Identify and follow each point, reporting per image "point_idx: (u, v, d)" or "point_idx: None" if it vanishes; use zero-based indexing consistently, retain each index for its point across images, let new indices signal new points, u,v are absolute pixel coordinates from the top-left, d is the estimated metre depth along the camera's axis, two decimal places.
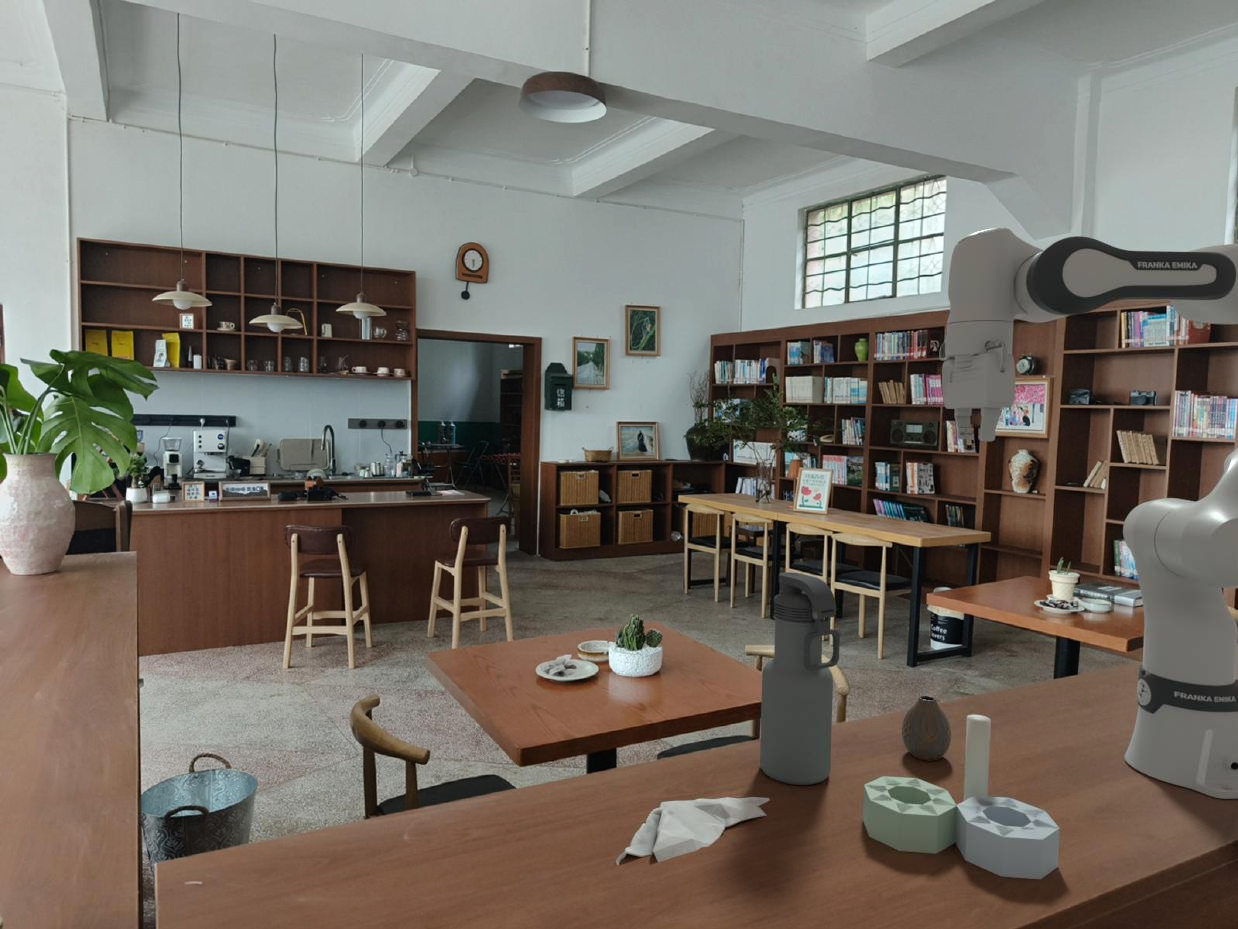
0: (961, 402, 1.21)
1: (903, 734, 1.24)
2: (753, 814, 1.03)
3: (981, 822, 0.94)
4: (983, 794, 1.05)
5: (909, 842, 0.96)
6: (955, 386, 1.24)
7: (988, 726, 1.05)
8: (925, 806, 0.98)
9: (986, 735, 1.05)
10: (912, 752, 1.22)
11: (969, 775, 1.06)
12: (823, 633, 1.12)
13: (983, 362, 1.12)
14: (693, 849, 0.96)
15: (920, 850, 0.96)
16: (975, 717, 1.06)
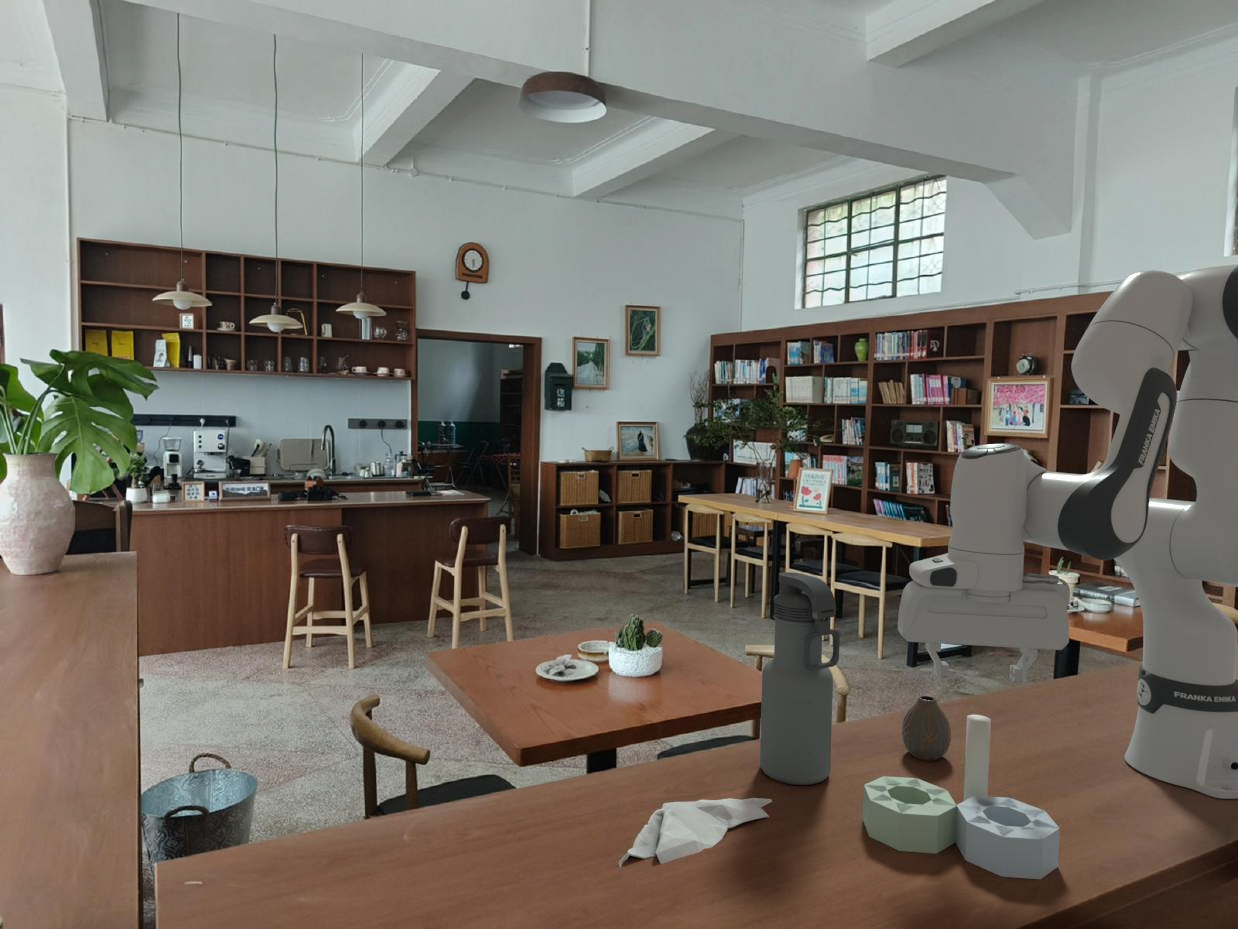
0: (977, 640, 1.04)
1: (903, 734, 1.24)
2: (756, 815, 1.03)
3: (981, 822, 0.94)
4: (983, 794, 1.05)
5: (909, 842, 0.96)
6: (951, 618, 1.04)
7: (988, 726, 1.05)
8: (925, 806, 0.98)
9: (986, 735, 1.05)
10: (912, 752, 1.22)
11: (969, 775, 1.06)
12: (823, 633, 1.12)
13: (1052, 601, 1.02)
14: (696, 851, 0.95)
15: (920, 850, 0.96)
16: (975, 717, 1.06)
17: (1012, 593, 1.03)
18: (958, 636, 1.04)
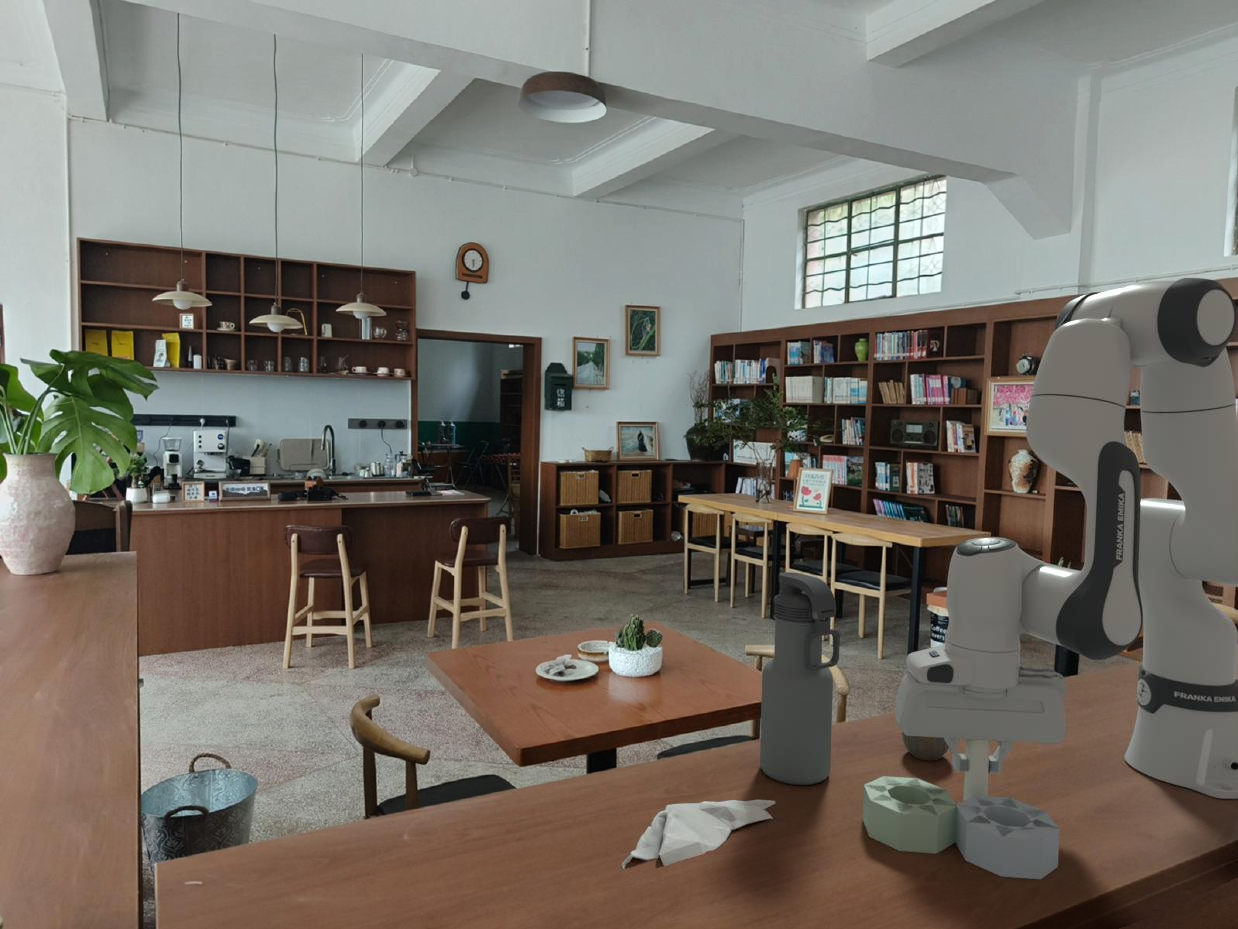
0: (974, 734, 1.04)
1: (903, 734, 1.24)
2: (759, 817, 1.03)
3: (981, 822, 0.94)
4: (983, 794, 1.05)
5: (909, 842, 0.96)
6: (949, 713, 1.05)
7: None
8: (925, 806, 0.98)
9: None
10: (912, 752, 1.22)
11: (969, 775, 1.06)
12: (823, 633, 1.12)
13: (1048, 696, 1.03)
14: (699, 852, 0.95)
15: (920, 850, 0.96)
16: None
17: (1008, 688, 1.04)
18: (955, 730, 1.05)
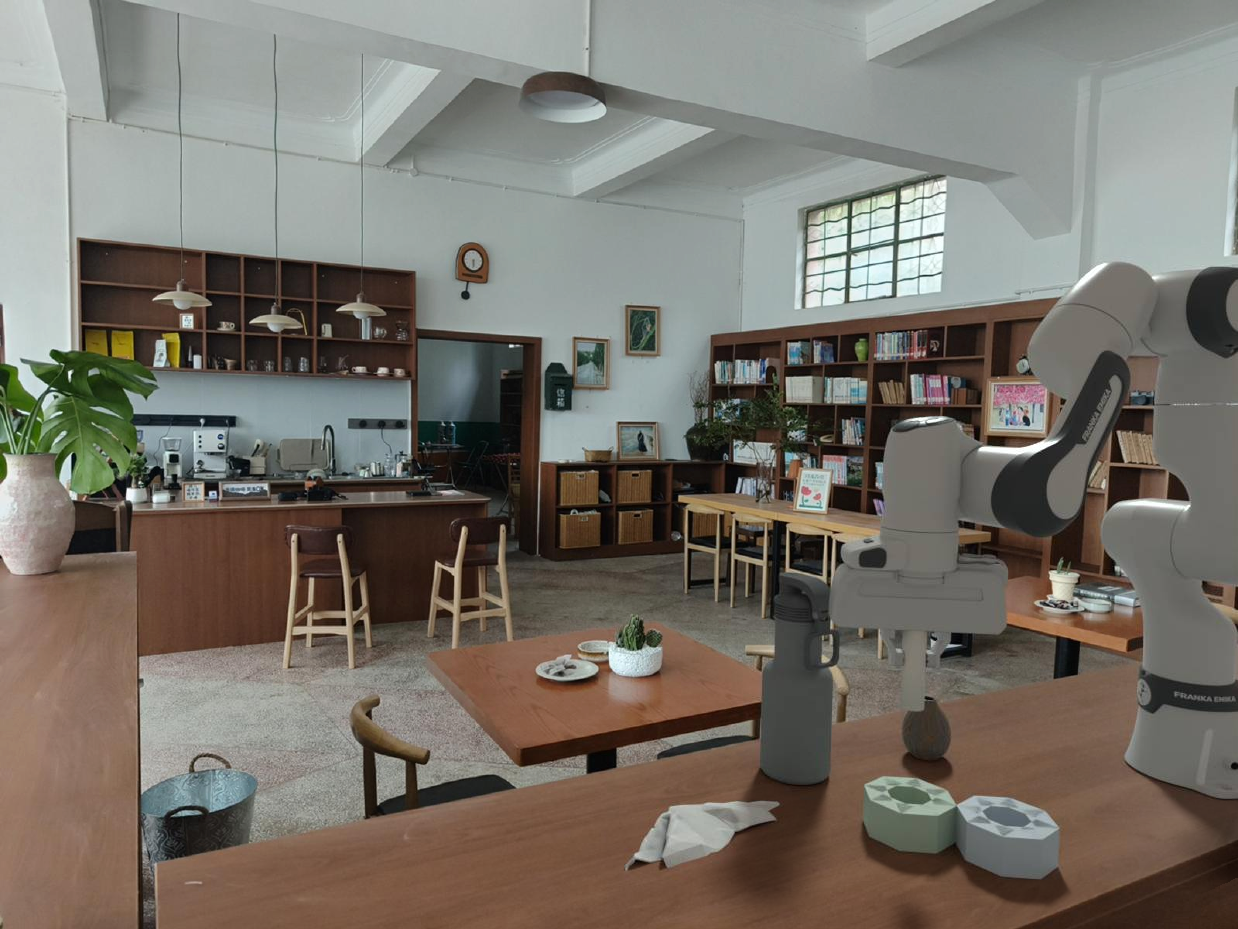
0: (910, 624, 0.98)
1: (903, 734, 1.24)
2: (763, 818, 1.02)
3: (981, 822, 0.94)
4: (919, 689, 0.98)
5: (909, 842, 0.96)
6: (883, 602, 0.98)
7: None
8: (925, 806, 0.98)
9: None
10: (912, 752, 1.22)
11: (905, 669, 0.99)
12: (823, 633, 1.12)
13: (988, 583, 0.96)
14: (703, 855, 0.94)
15: (920, 850, 0.96)
16: None
17: (946, 574, 0.97)
18: (890, 621, 0.98)
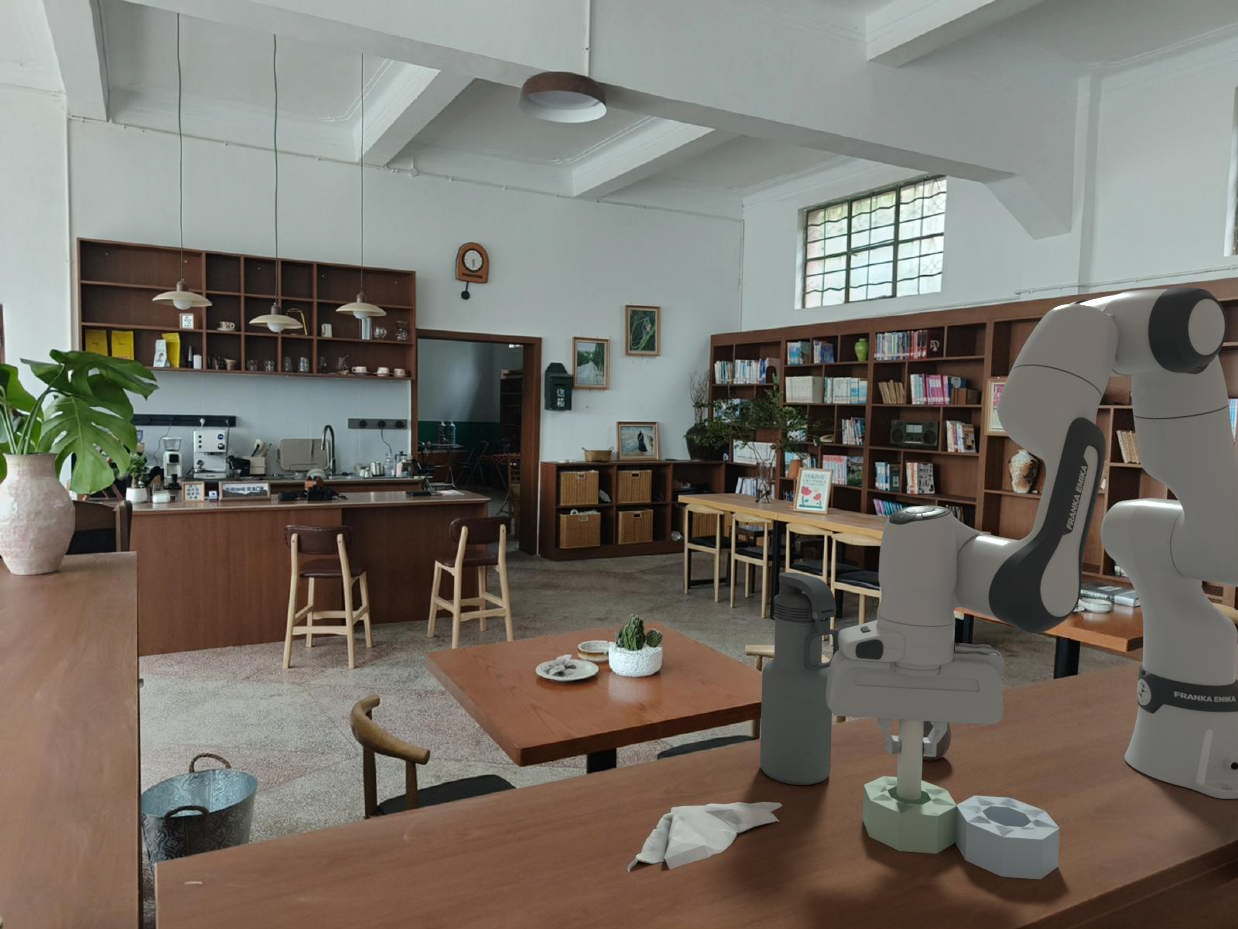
0: (906, 714, 0.98)
1: None
2: (765, 820, 1.02)
3: (981, 822, 0.94)
4: (916, 778, 0.99)
5: (909, 842, 0.96)
6: (879, 691, 0.99)
7: None
8: (925, 806, 0.98)
9: None
10: None
11: (902, 758, 1.00)
12: (823, 633, 1.12)
13: (984, 674, 0.97)
14: (705, 856, 0.94)
15: (920, 850, 0.96)
16: None
17: (942, 665, 0.98)
18: (886, 710, 0.98)
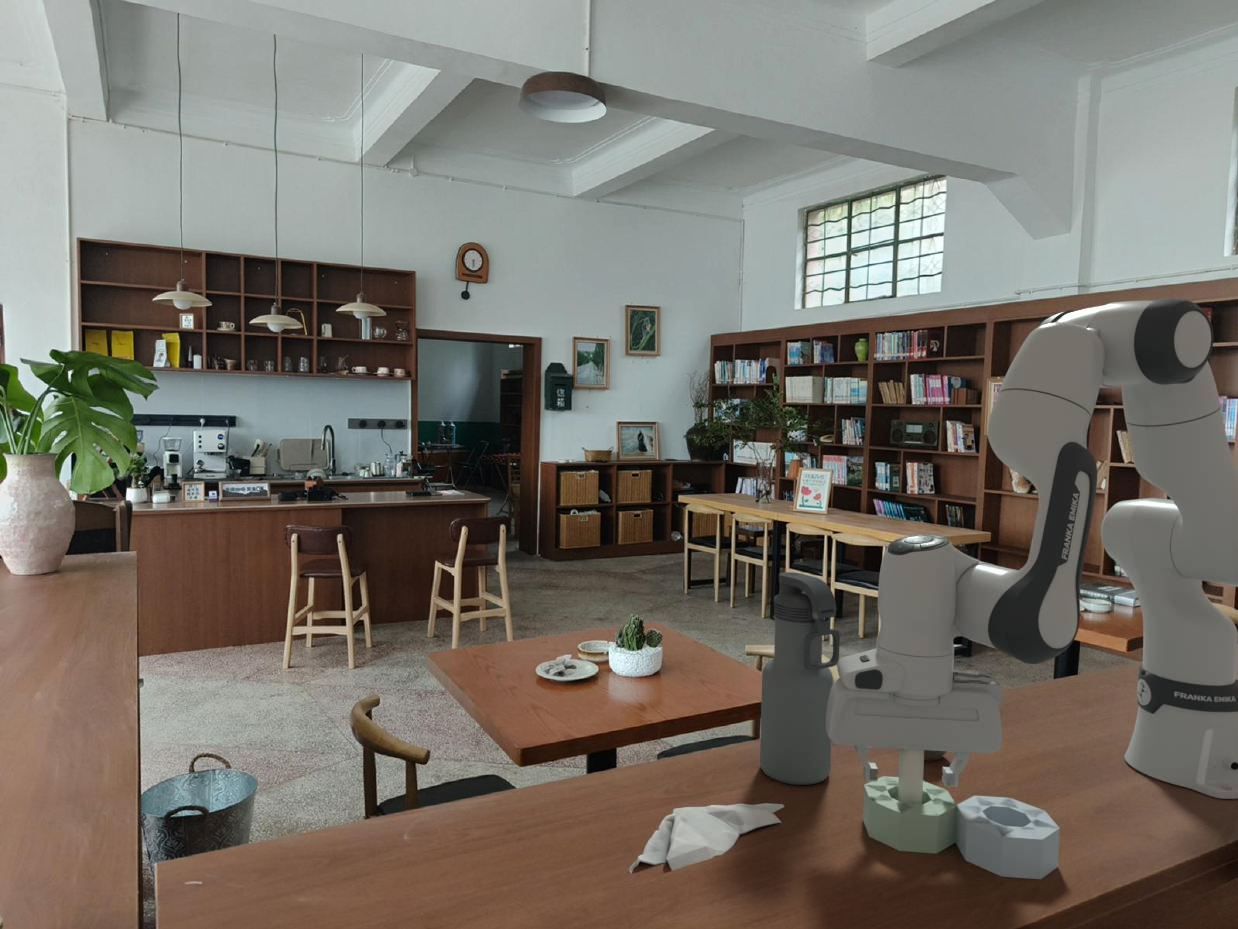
0: (906, 744, 0.99)
1: None
2: (767, 821, 1.02)
3: (981, 822, 0.94)
4: None
5: (909, 842, 0.96)
6: (879, 721, 0.99)
7: None
8: (925, 806, 0.98)
9: (919, 753, 0.99)
10: None
11: (902, 795, 1.00)
12: (823, 633, 1.12)
13: (983, 703, 0.97)
14: (707, 857, 0.94)
15: (920, 850, 0.96)
16: None
17: (942, 695, 0.98)
18: (886, 740, 0.99)
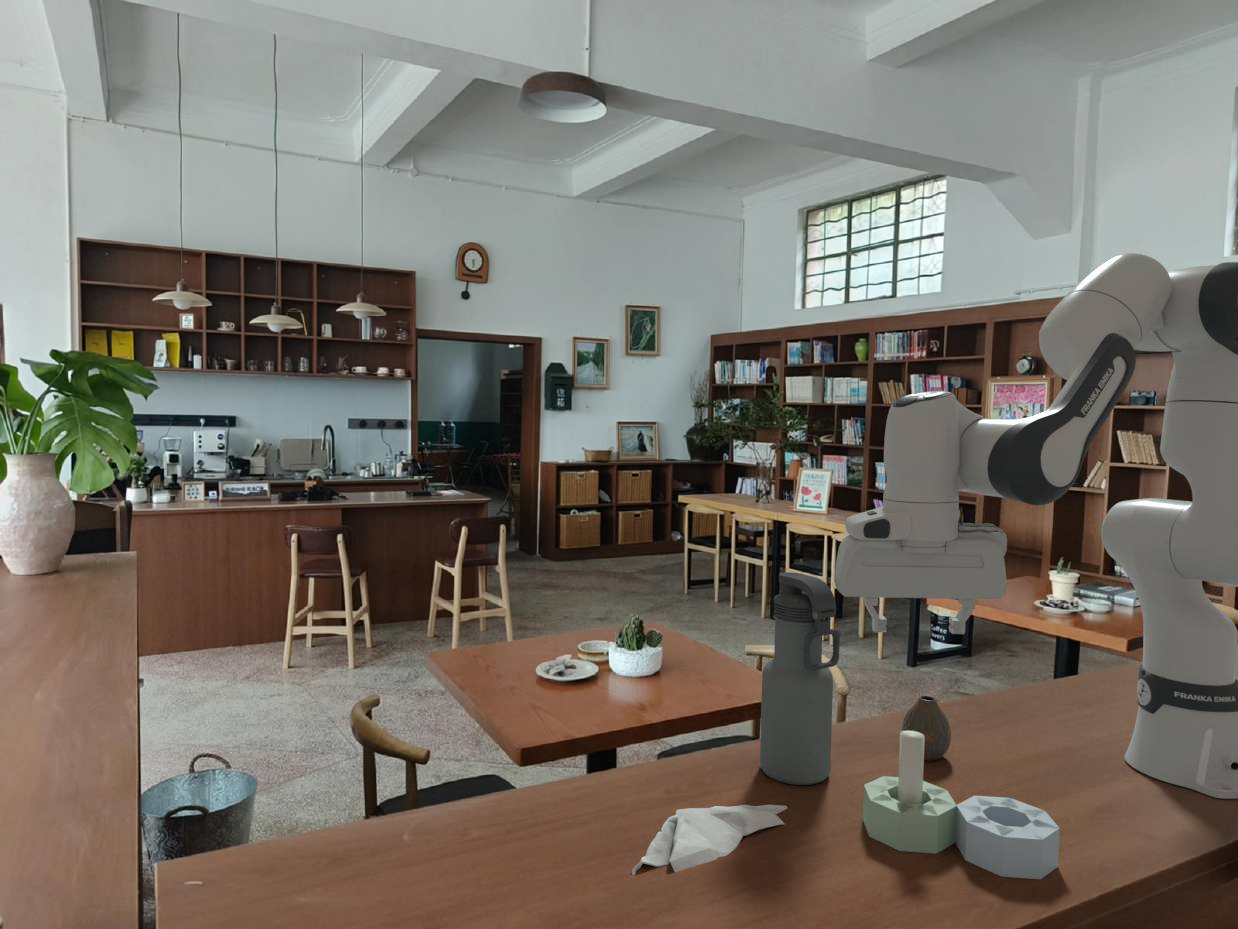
0: (914, 592, 1.01)
1: None
2: (771, 823, 1.01)
3: (981, 822, 0.94)
4: None
5: (909, 842, 0.96)
6: (887, 571, 1.02)
7: (921, 743, 0.99)
8: (925, 806, 0.98)
9: (919, 753, 0.99)
10: None
11: (902, 795, 1.00)
12: (823, 633, 1.12)
13: (988, 550, 1.00)
14: (710, 859, 0.94)
15: (920, 850, 0.96)
16: (908, 733, 1.01)
17: (948, 543, 1.01)
18: (894, 589, 1.02)
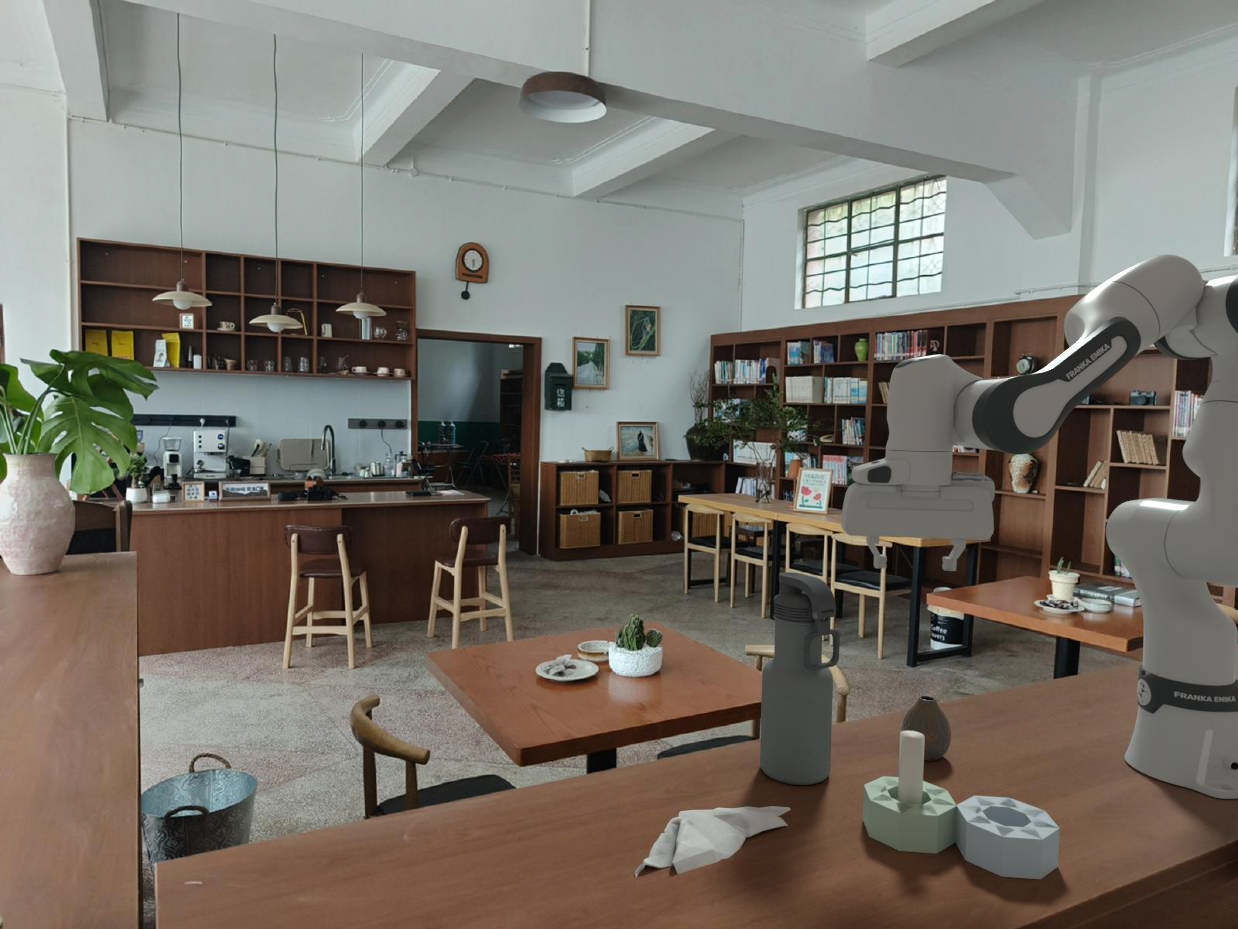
0: (911, 532, 1.15)
1: None
2: (774, 824, 1.01)
3: (981, 822, 0.94)
4: None
5: (909, 842, 0.96)
6: (888, 513, 1.15)
7: (921, 743, 0.99)
8: (925, 806, 0.98)
9: (919, 753, 0.99)
10: None
11: (902, 795, 1.00)
12: (823, 633, 1.12)
13: (977, 495, 1.13)
14: (713, 860, 0.93)
15: (920, 850, 0.96)
16: (908, 733, 1.01)
17: (942, 489, 1.14)
18: (894, 529, 1.15)
